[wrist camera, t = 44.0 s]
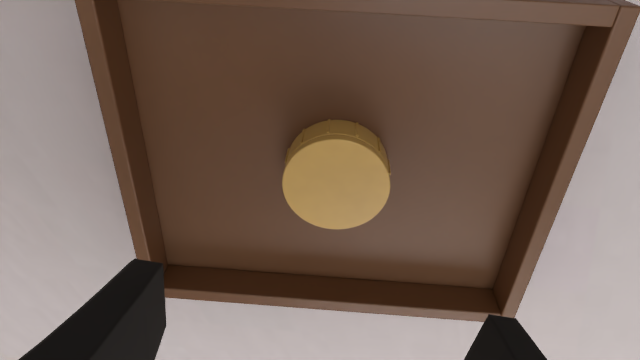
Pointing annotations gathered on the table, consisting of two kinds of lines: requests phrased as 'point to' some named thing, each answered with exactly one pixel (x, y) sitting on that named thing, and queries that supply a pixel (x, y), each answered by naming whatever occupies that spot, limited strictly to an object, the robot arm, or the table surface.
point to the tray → (369, 111)
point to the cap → (336, 175)
